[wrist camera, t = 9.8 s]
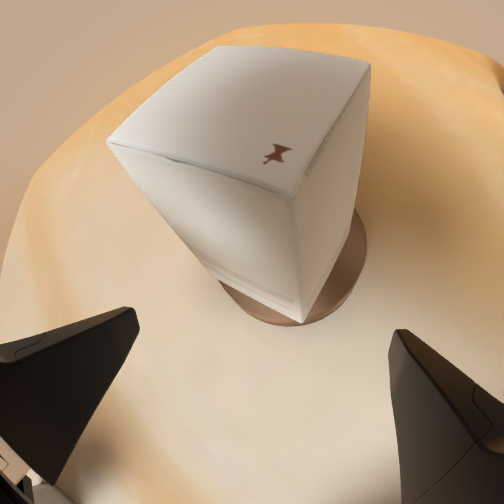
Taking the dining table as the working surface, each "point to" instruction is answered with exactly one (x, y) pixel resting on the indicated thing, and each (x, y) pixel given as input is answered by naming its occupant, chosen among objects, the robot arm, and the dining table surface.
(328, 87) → the supplement box
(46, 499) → the coffee maker
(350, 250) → the walnut pedestal
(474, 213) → the dining table surface
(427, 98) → the dining table surface
